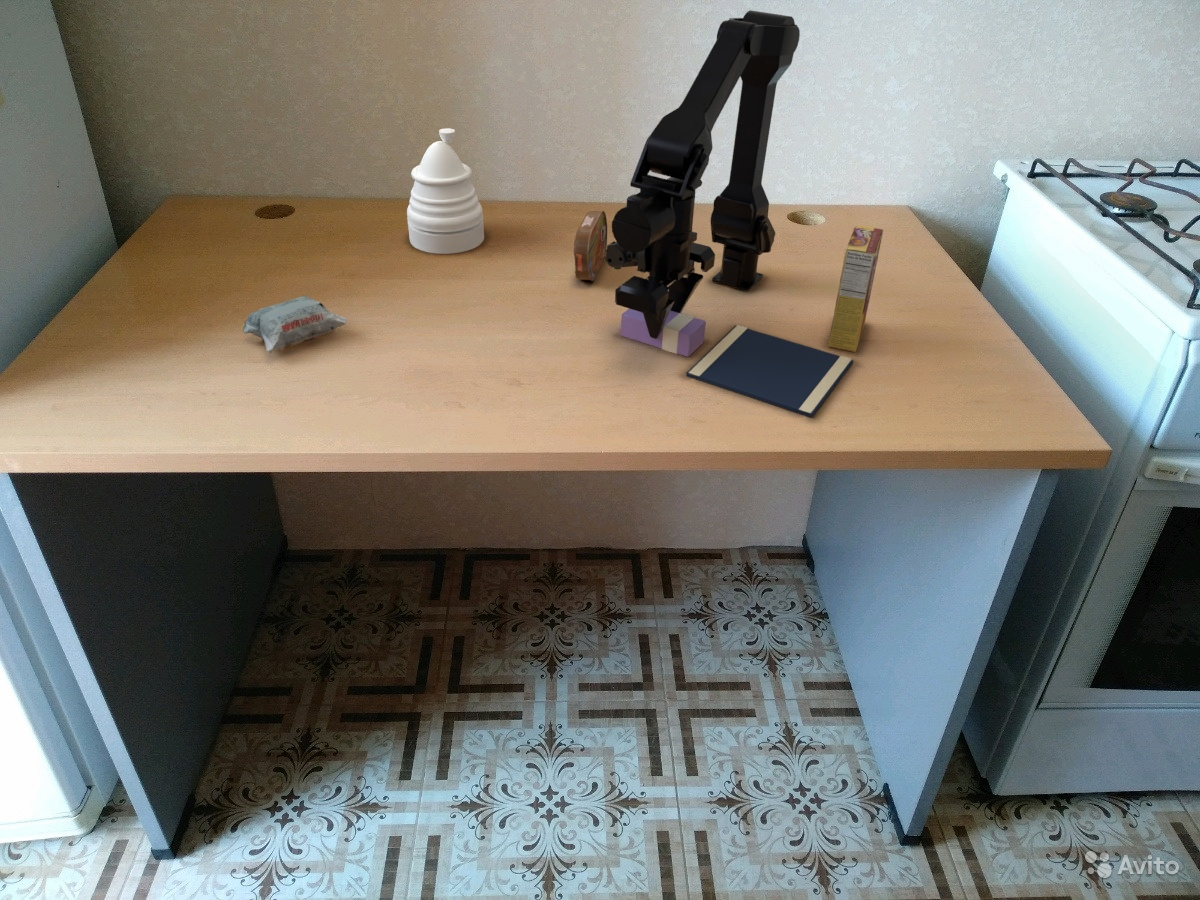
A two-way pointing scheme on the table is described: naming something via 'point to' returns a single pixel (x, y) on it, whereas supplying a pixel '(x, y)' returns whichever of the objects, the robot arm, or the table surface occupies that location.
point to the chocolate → (666, 331)
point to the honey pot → (444, 202)
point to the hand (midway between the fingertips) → (662, 329)
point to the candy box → (855, 287)
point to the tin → (590, 245)
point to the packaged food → (292, 323)
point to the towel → (772, 370)
